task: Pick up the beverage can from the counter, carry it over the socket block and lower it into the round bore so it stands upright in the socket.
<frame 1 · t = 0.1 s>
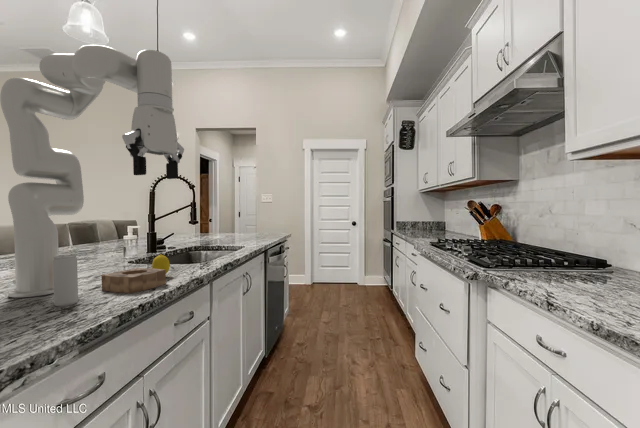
hand: (157, 176, 79), 31 cm above the counter, tool pointing down, fingers open, 9 cm apart
socket block: (135, 286, 99), on the counter
beverage can: (66, 304, 81), on the counter
lemon: (161, 277, 113), on the counter
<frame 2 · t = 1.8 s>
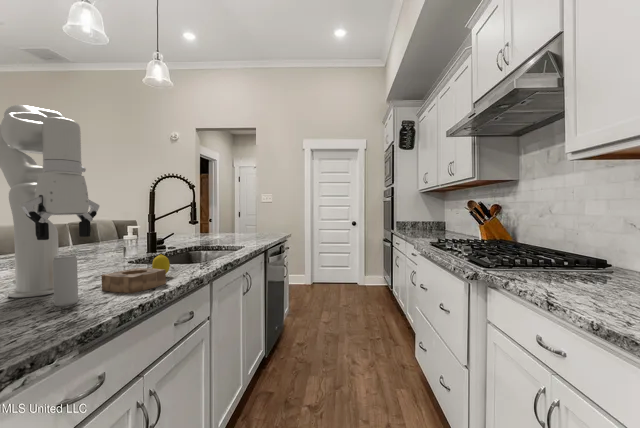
hand: (65, 238, 81), 17 cm above the counter, tool pointing down, fingers open, 9 cm apart
nothing on the counter moved.
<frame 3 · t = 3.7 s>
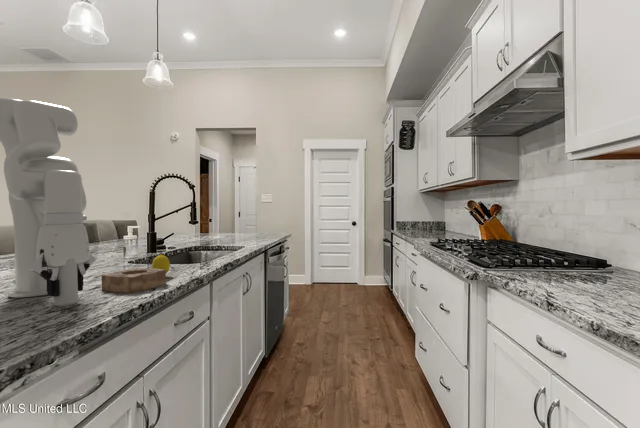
hand: (65, 292, 81), 3 cm above the counter, tool pointing down, fingers closed on beverage can, 4 cm apart
beverage can: (66, 304, 81), on the counter, touching gripper
everything else where it was.
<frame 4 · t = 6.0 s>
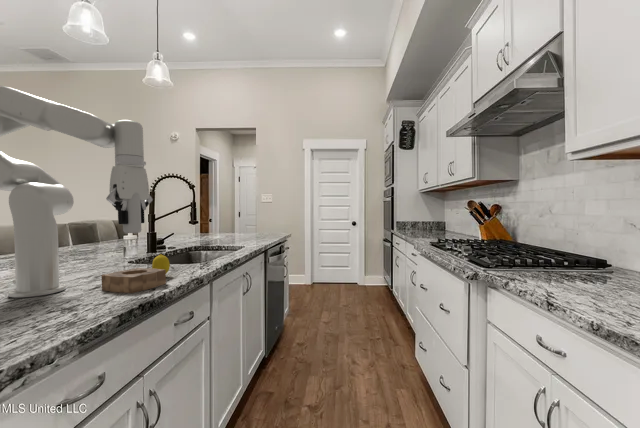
hand: (131, 223, 98), 19 cm above the counter, tool pointing down, fingers closed on beverage can, 4 cm apart
beverage can: (132, 233, 98), point 16 cm above the counter, touching gripper
everything else where it was.
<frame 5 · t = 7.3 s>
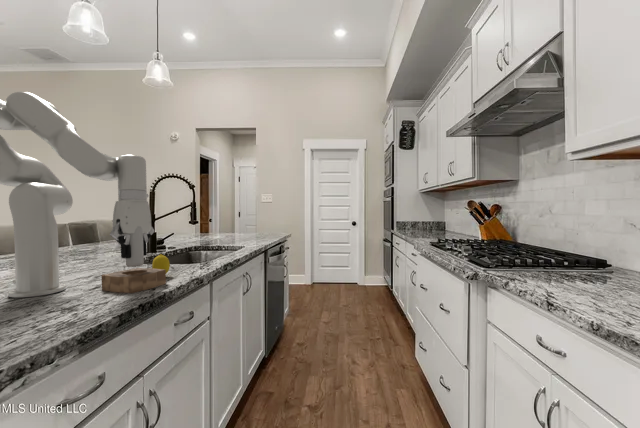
hand: (134, 256, 99), 9 cm above the counter, tool pointing down, fingers closed on beverage can, 4 cm apart
beverage can: (134, 266, 99), point 6 cm above the counter, touching gripper
everything else where it was.
when the fingers open (5 cm above the counter, at t = 8.5 s): beverage can drops 3 cm, resting in socket block.
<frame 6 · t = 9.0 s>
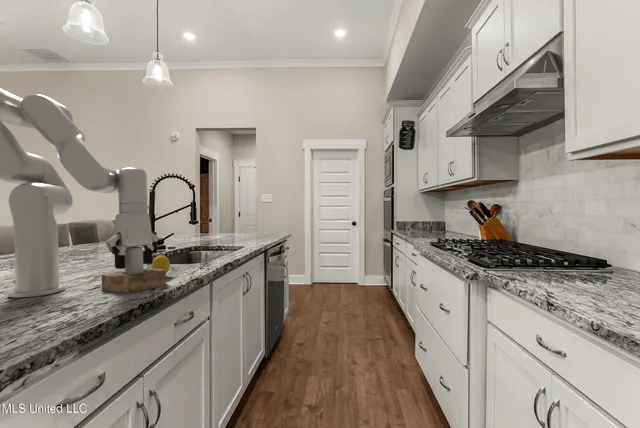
hand: (134, 265, 99), 6 cm above the counter, tool pointing down, fingers open, 9 cm apart
beverage can: (134, 287, 99), resting in socket block
everything else where it was.
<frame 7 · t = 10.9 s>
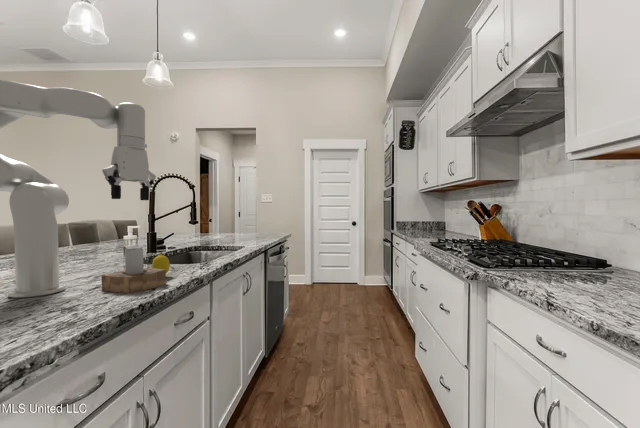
hand: (130, 199, 101), 27 cm above the counter, tool pointing down, fingers open, 9 cm apart
nothing on the counter moved.
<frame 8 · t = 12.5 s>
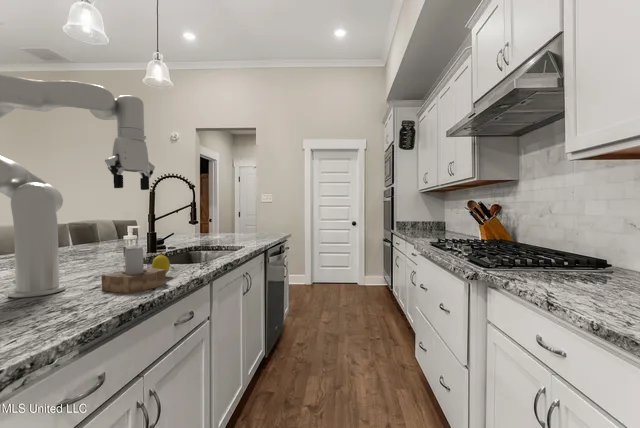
hand: (132, 188, 105), 30 cm above the counter, tool pointing down, fingers open, 9 cm apart
nothing on the counter moved.
at the end: beverage can 0.1 cm from the socket block (horizontally); beverage can tilted 0°; the gripper is holding nothing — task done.
